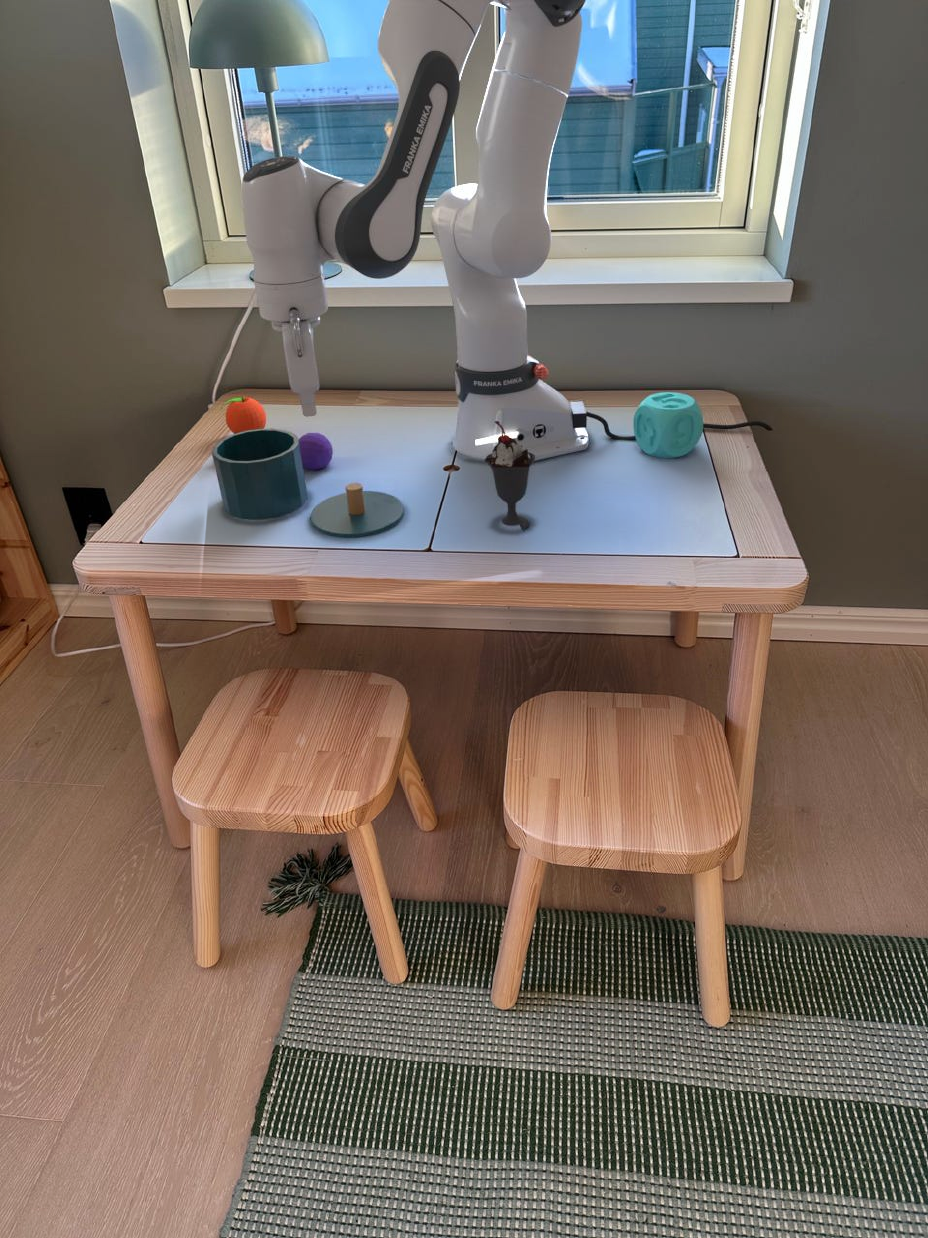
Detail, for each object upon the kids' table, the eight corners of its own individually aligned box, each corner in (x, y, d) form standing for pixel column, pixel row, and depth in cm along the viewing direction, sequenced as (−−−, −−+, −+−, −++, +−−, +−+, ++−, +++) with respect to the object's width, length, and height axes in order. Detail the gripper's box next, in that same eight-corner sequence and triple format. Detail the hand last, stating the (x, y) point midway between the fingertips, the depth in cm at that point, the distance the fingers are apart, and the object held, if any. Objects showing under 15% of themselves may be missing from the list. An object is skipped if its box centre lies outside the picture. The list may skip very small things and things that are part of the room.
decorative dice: (672, 434, 152) (676, 388, 148) (701, 451, 146) (706, 403, 142) (631, 444, 150) (633, 397, 145) (658, 462, 144) (662, 413, 139)
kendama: (229, 429, 154) (336, 428, 147) (235, 464, 156) (340, 465, 149) (209, 436, 148) (319, 436, 142) (215, 472, 151) (324, 474, 144)
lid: (397, 493, 139) (394, 461, 136) (410, 533, 128) (407, 500, 125) (309, 504, 138) (304, 473, 135) (314, 547, 127) (309, 513, 124)
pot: (305, 481, 145) (296, 424, 139) (310, 516, 134) (300, 456, 129) (225, 491, 143) (213, 434, 138) (224, 528, 133) (210, 467, 127)
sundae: (488, 514, 132) (484, 414, 124) (534, 512, 132) (533, 413, 123) (487, 536, 127) (483, 434, 118) (536, 534, 126) (535, 432, 118)
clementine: (217, 444, 159) (209, 404, 155) (232, 428, 165) (224, 390, 161) (261, 444, 158) (254, 405, 154) (274, 429, 163) (268, 390, 159)
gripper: (320, 318, 110) (336, 427, 118) (313, 277, 127) (327, 375, 134) (267, 324, 109) (287, 433, 117) (267, 282, 126) (284, 380, 134)
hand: (308, 401), depth 126 cm, fingers open, 8 cm apart
